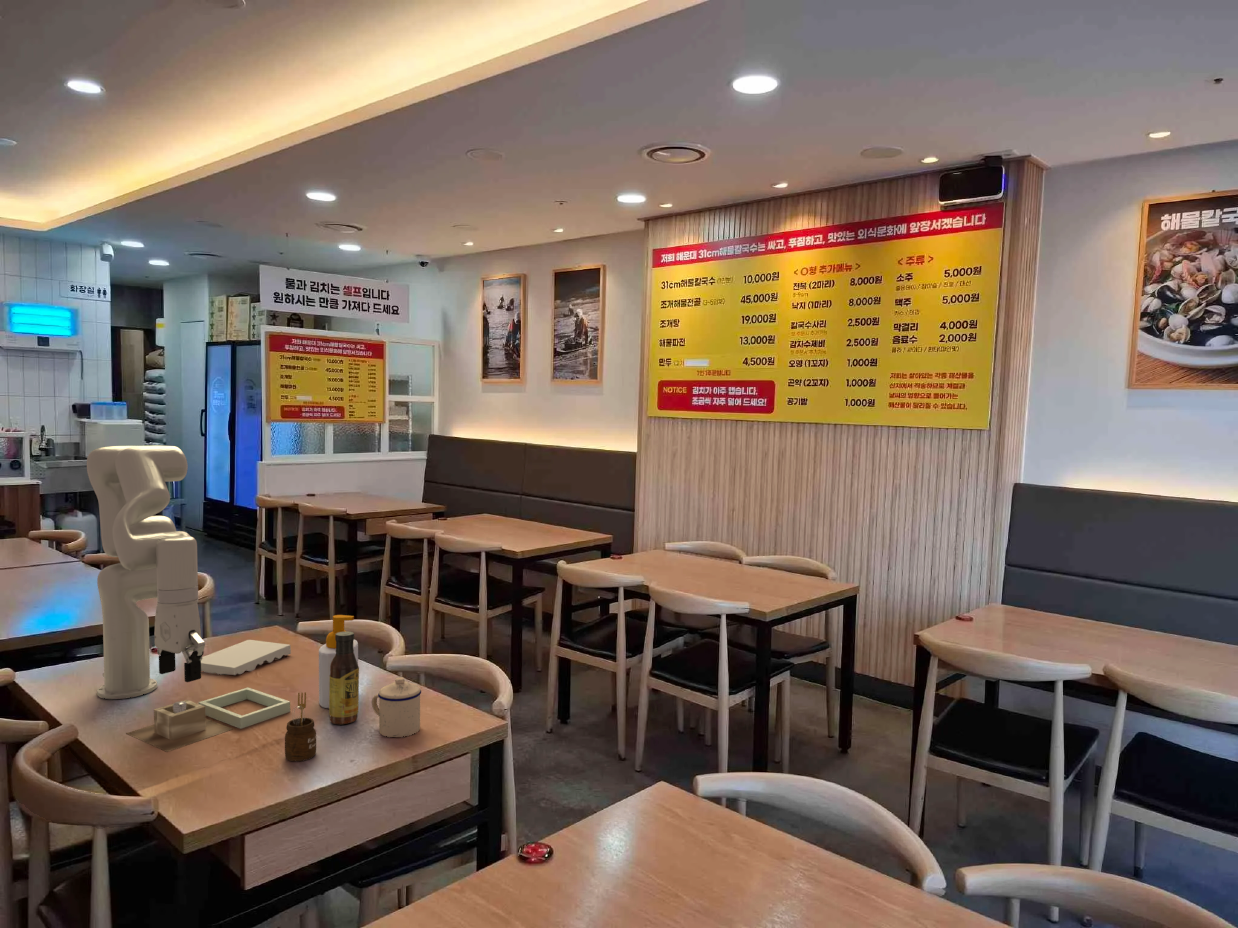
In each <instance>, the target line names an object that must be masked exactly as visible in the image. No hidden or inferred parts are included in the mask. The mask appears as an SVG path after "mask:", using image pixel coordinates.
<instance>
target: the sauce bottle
mask: <svg viewBox="0 0 1238 928" xmlns="http://www.w3.org/2000/svg"><path fill="white" fill-rule="evenodd" d="M345 631H346V632H338V633H336V634H335V640H336V655H335V657H334V658H333V660H332V662H331V665H330V690H329V708H328V709H329V710H328V711H329V712H328V714H329V720H330V723H331V724H333V725H348V724H351V723H354V722H355V721H357V719H358V714H359V699H360V698H359V694H360V693H359V692H360V690H359V689H360V688H359V687H360V686H359V685H360V684H359V683H360V682H359V681H360V666H359V662H358V663H357V661H356V658H355V655H354V649H353V640H354V639H355V632H353V631H347V630H345Z"/></svg>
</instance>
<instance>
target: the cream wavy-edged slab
mask: <svg viewBox="0 0 1238 928" xmlns="http://www.w3.org/2000/svg"><path fill="white" fill-rule="evenodd" d="M291 653H292V649H291V644H288V643H281V642H280V643H279V642H272V641H264V640H256V639H255V640H254V639H246V640H243V641H242V642H239V643H236V644H234V645H233V644H232V645H230V646H228V647H225V648H223V649H220V650H216V651H214V652H211V653H210V654H207V655H203V656H202V660H201V671H204V672H203V673H207V674H208V673H209V674H215V673H216V675H219V674H220V676H222V675H224V676H228V675H231V676H232V675H233V676H236V675H241V674H243V673H244V672H245V671H248V672H252V671H255V669H256V667H257V666H262V665H263V664H264V663H272V662H273V661H277V660H279V659H281V658H282V657H284V656H288V655H291Z"/></svg>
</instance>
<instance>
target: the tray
mask: <svg viewBox="0 0 1238 928" xmlns="http://www.w3.org/2000/svg"><path fill="white" fill-rule="evenodd" d="M245 700H248V701H250V702H254V703H256V704H259V705H262V706H264V707H263V708H260V709H258V710H255V711H252V712H249V713H246V714H243V715H241V714H238V713H236V712H233V711H231V710H228V709H225V708H223V707H226V706H227V707H228V706H229V705H233V704H235V703H239V702H243V701H245ZM197 704H200V705H202V706H205V717H209V718H212V719H214V720H217V721H220V722H222V723H224V724H228V725H229V726H232V727H234V728H236V729H237V728H238V729H241V730H242V729H245V728H247V727H251V726H252V725H256V724H259V723H262V722H265V721H267V720H271V719H273V718H277V717H279V716H282V715H284V714H285V715H286V714H287V713H290V712H291V701H289V700H286V699H284V698H281V697H278V696H275V695H272V694H269V693H266V692H262V691H260V690H257V689H253V688H252V687H245V688H242V689H238V690H235V691H232V692H231V691H230V692H228V693H225V694H221V695H218V696H215V697H212V698H208V699H205V700H201V701H198V702H197ZM265 706H266V707H265Z"/></svg>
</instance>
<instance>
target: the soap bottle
mask: <svg viewBox="0 0 1238 928" xmlns="http://www.w3.org/2000/svg"><path fill="white" fill-rule="evenodd" d="M354 620H355V616H354V615H345V614H335V615H332V631H331V632H329V633H328V634H327V635H326V638H325V644H323V645H321V646H320V648H318V704H319V705H320V707H322V708H323V709H324V708H326V709H329V690H330V665H331V662H332V660H333V658H334V657H335V655H336V640H335V634H336V633H338V632H346V631H347V630H346V629H345V622H346V621H349V622H352V621H354ZM353 649H354V655H355V658H356V661H357V663H358V664H359V643H358V640H356V639H355V638H354V640H353Z"/></svg>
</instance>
